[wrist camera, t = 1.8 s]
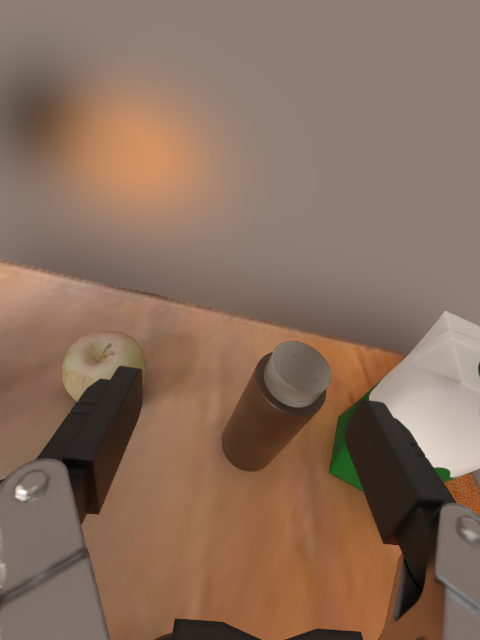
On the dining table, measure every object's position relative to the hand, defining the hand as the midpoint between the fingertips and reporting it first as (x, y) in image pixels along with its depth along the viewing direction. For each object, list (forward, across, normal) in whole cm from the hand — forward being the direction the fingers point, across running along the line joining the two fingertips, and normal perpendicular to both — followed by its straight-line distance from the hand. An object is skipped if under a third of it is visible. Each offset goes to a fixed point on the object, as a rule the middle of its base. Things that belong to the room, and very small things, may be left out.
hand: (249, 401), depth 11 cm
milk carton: (+13, -17, +18) cm, 28 cm away
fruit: (+15, +12, +15) cm, 24 cm away
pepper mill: (+12, -3, +17) cm, 21 cm away
